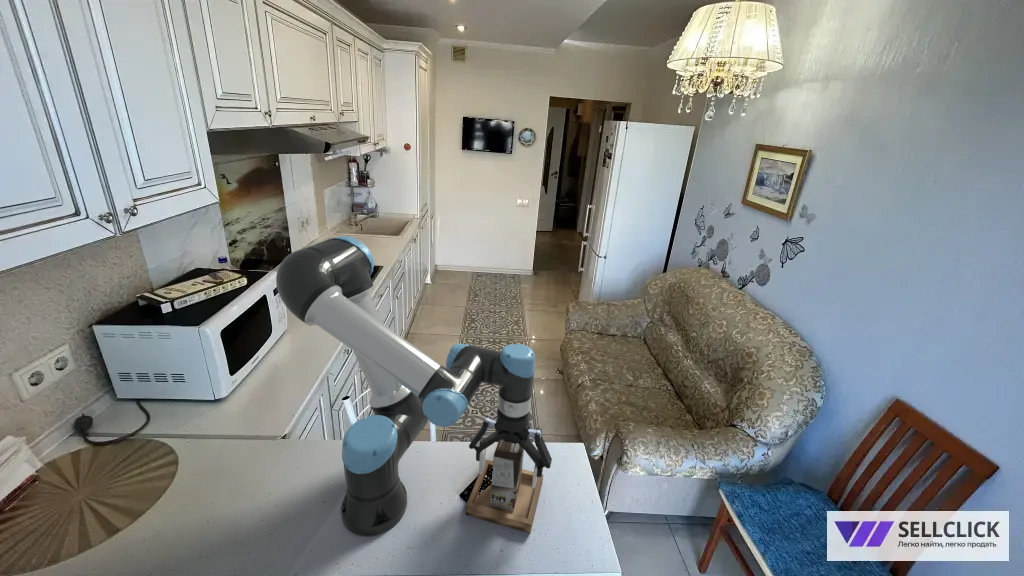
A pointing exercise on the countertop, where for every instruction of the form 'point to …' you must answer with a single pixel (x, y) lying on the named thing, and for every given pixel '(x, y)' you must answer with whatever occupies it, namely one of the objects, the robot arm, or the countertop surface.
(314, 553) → the countertop surface
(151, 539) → the countertop surface
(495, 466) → the coffee box
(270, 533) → the countertop surface
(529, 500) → the wooden tray
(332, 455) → the countertop surface
